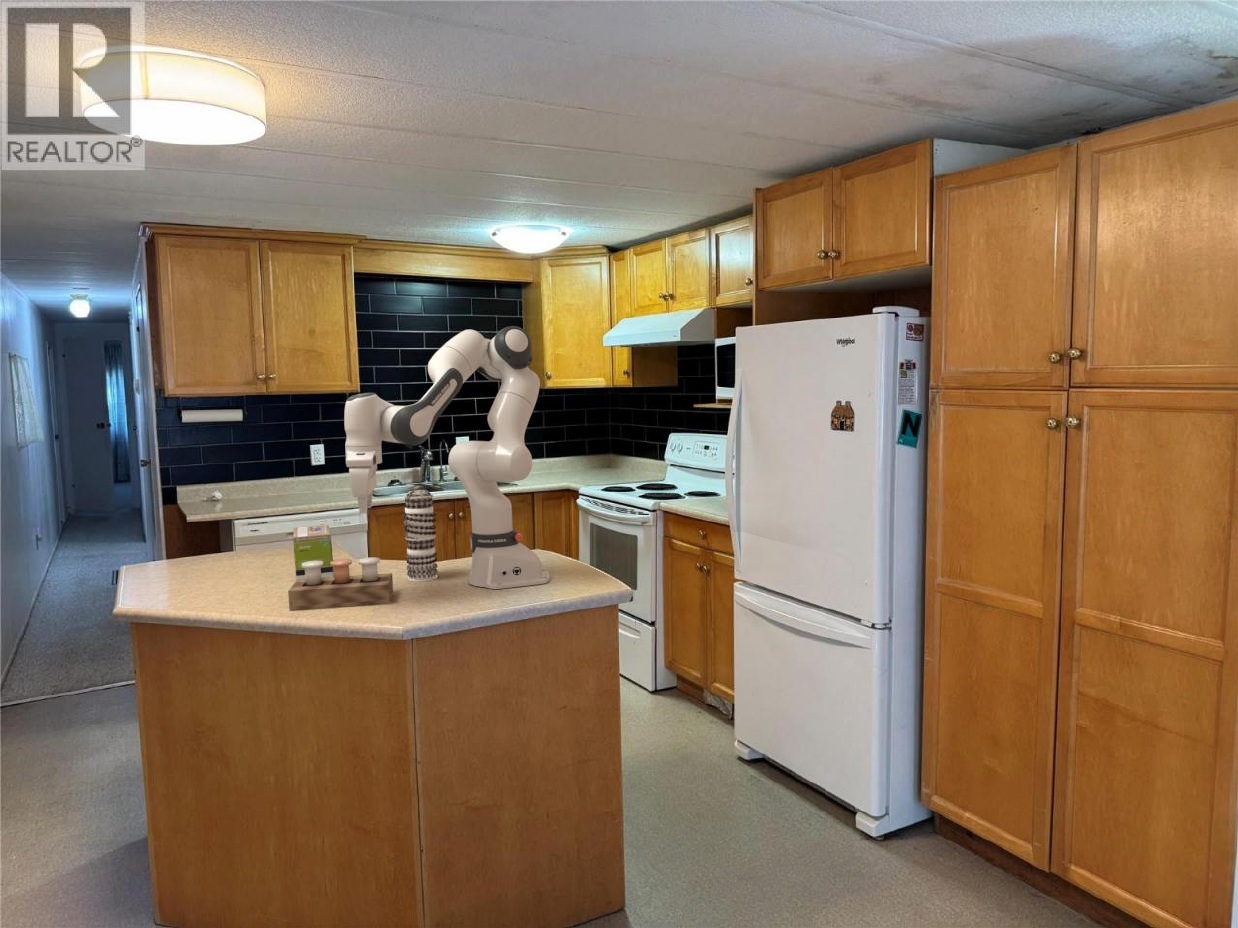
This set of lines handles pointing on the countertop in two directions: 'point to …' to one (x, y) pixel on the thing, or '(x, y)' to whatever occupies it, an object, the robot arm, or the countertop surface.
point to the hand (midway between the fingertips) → (365, 510)
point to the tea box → (313, 549)
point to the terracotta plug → (341, 570)
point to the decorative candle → (420, 536)
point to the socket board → (341, 593)
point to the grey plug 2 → (369, 568)
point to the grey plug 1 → (312, 572)
